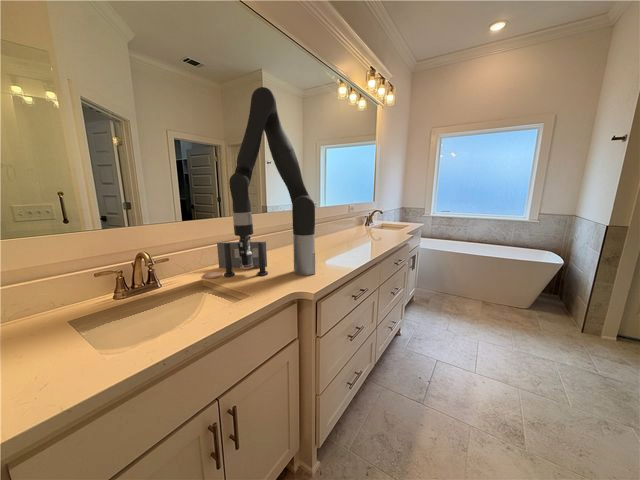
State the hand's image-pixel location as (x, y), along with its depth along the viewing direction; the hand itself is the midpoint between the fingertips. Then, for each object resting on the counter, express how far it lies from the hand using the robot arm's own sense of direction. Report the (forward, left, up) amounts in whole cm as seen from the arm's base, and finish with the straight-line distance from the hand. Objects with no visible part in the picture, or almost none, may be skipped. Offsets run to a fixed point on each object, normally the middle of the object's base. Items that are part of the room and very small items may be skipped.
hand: (246, 262), depth 108 cm
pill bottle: (0, 0, -2) cm, 2 cm away
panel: (+4, -12, -5) cm, 13 cm away
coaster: (+14, 0, -5) cm, 15 cm away
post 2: (-7, 0, -5) cm, 8 cm away
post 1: (+7, 0, -5) cm, 9 cm away
